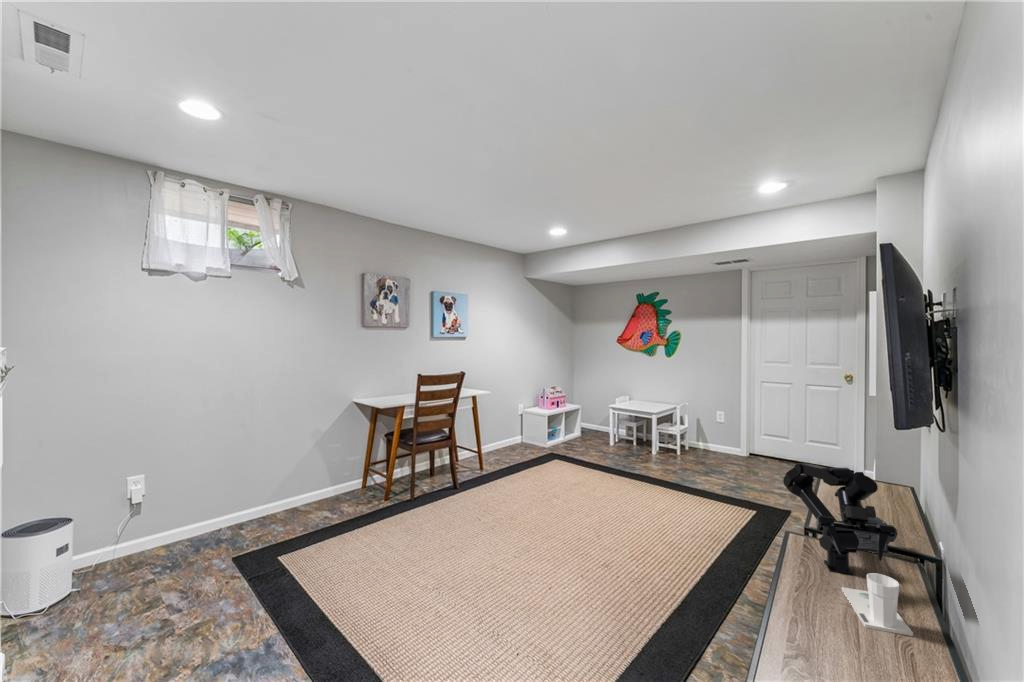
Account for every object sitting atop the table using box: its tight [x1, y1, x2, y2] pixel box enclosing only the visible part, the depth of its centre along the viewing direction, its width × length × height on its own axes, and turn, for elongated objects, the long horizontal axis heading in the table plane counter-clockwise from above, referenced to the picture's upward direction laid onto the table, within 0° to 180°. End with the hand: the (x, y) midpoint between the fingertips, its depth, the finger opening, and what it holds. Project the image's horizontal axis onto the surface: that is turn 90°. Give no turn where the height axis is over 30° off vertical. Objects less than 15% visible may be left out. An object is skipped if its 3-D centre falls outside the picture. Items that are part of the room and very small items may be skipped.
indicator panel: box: [841, 586, 914, 637], centre depth 120 cm, size 18×10×1 cm, turn 158°
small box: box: [854, 516, 889, 554], centre depth 155 cm, size 11×6×10 cm, turn 74°
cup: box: [865, 572, 900, 628], centre depth 114 cm, size 7×7×11 cm
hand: (860, 557), depth 124 cm, fingers open, 9 cm apart
